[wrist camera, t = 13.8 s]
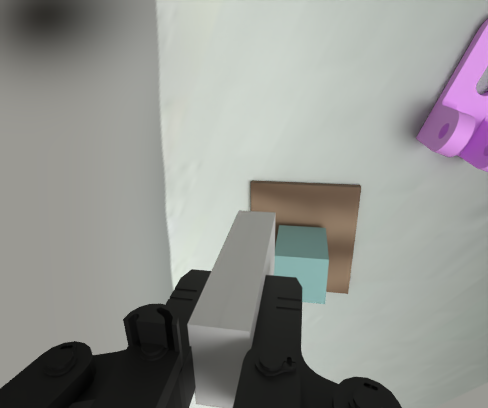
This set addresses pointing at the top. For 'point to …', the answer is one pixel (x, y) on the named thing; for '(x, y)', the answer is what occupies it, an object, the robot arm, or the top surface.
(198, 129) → the top surface
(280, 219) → the brown square panel
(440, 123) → the bracket
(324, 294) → the teal rectangular block
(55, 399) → the robot arm
